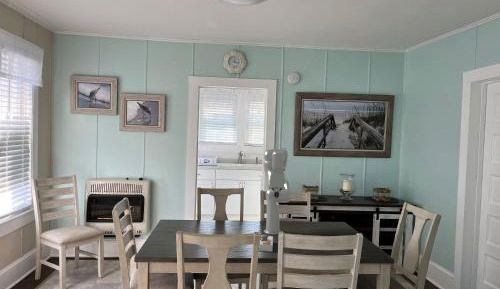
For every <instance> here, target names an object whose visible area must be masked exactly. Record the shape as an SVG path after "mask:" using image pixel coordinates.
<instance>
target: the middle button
mask: <svg viewBox="0 0 500 289" xmlns="http://www.w3.org/2000/svg"><path fill="white" fill-rule="evenodd" d="M261 235H262V241H267V238H268V236H269V234H261Z"/></svg>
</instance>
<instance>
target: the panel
mask: <svg viewBox="0 0 500 289" xmlns="http://www.w3.org/2000/svg"><path fill="white" fill-rule="evenodd" d="M267 241H270V245H266V244H264V241H262V238H261V240H260V248H259V251H258V252H269V253H270V252H272V253H273V248H274V247H273V243H274V235H273V236H271V235H268V238H267Z"/></svg>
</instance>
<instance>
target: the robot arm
mask: <svg viewBox="0 0 500 289" xmlns="http://www.w3.org/2000/svg"><path fill="white" fill-rule="evenodd" d="M288 157H289V153H288V151H287V149H285V148H272V149H265V151H264V154H263V159H264V161H263V171H264V173H265V175H266V181H267V182H266V183H267V189H268V190H266V192H265V198H266V216H265V217H266V219H265V220H266V224H265V226H266V227H265V229H263V232H264V233H265V235H273V236H274V235H279V234H278V232H279V231H281V232H282V230H281V229H280V222H281V221H280V215H281V208H280V206H279V205H278V204H279V203H288V202H290V201H291V190H290V189H291V188H290V183H289V180H288V179H286V177H285V172H286V168H287V164H288Z"/></svg>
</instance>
